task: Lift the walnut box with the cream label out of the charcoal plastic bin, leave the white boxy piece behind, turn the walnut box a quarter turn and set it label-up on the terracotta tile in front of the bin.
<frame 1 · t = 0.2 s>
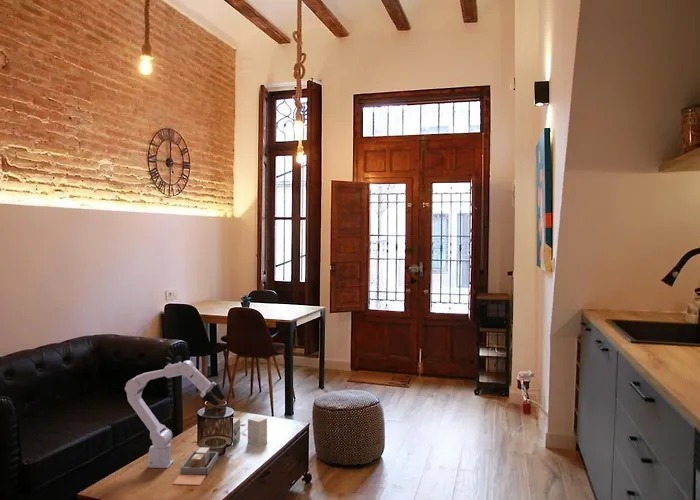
hand: (220, 401, 254), 31 cm above the table, tool tilted 45°, fingers open, 7 cm apart
white boxy piece: (202, 462, 260), resting in bin
small box: (257, 443, 284), on the table
walnut box: (197, 469, 252), resting in bin
ink box: (232, 442, 285), on the table
tile: (189, 480, 241), on the table
bin: (200, 465, 256), on the table
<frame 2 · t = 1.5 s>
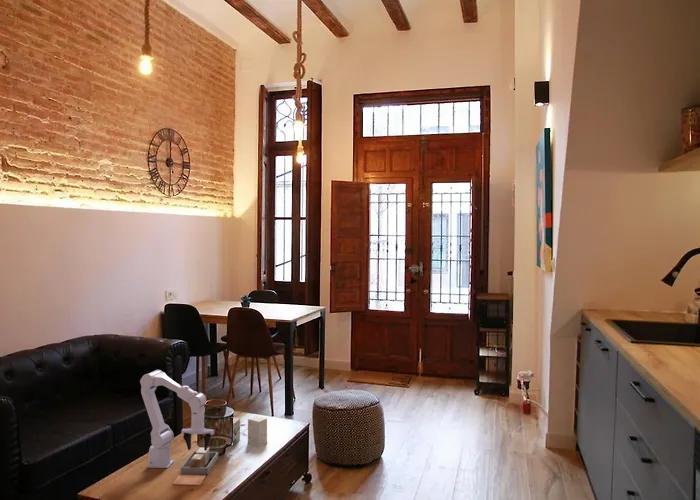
hand: (197, 449, 252), 9 cm above the table, tool pointing down, fingers open, 7 cm apart
nothing on the table moved.
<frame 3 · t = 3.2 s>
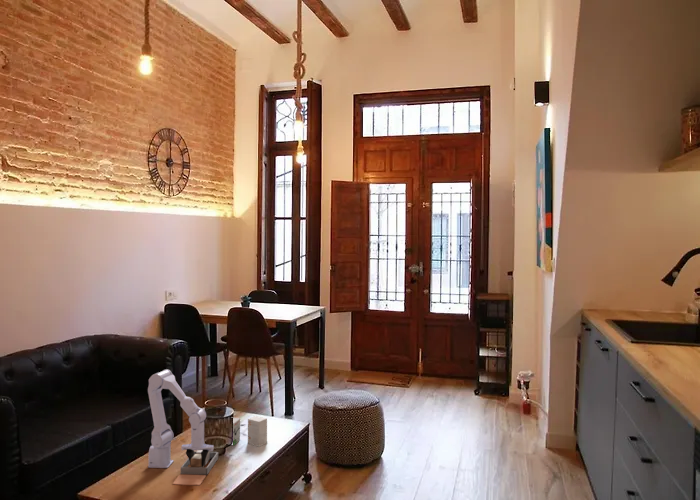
hand: (197, 465, 252), 2 cm above the table, tool pointing down, fingers closed on walnut box, 4 cm apart
walnut box: (197, 469, 252), resting in bin, touching gripper
everything else where it was.
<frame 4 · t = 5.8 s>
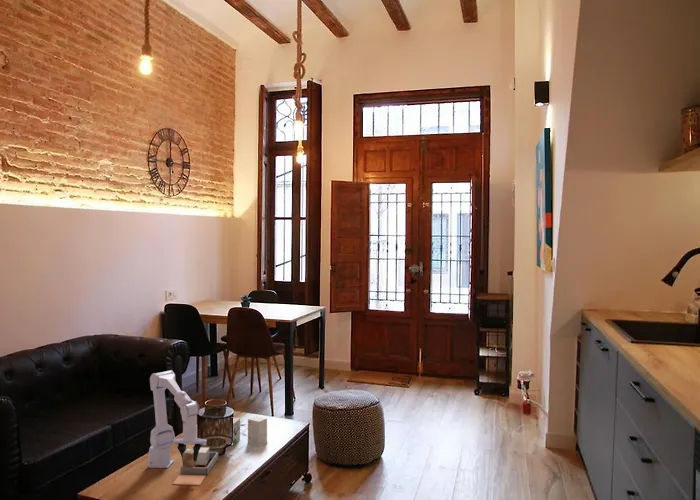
hand: (189, 460, 241), 9 cm above the table, tool pointing down, fingers closed on walnut box, 4 cm apart
walnut box: (189, 464, 241), point 7 cm above the table, touching gripper
everything else where it was.
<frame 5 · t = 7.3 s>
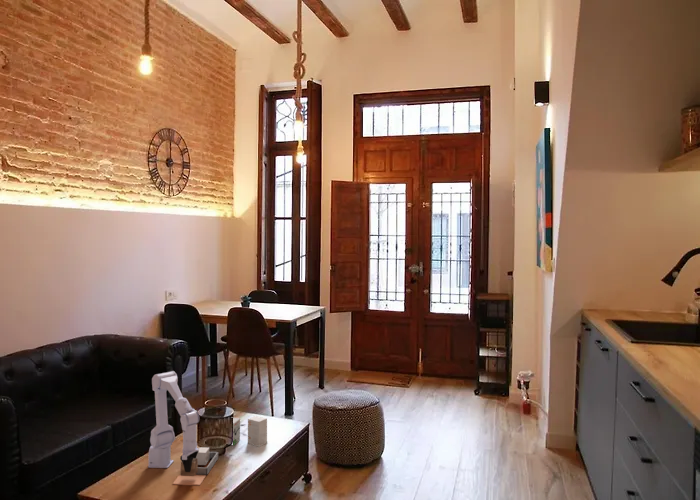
hand: (189, 469, 241), 5 cm above the table, tool pointing down, fingers closed on walnut box, 4 cm apart
walnut box: (189, 473, 241), point 3 cm above the table, touching gripper
everything else where it was.
when the fingers open (3 cm above the table, at t = 8.5 s): walnut box stays where it is, resting on tile.
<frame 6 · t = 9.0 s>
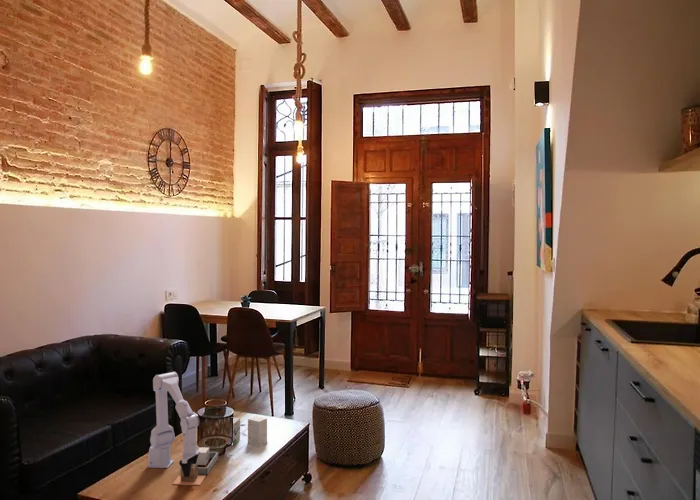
hand: (189, 472, 241), 3 cm above the table, tool pointing down, fingers open, 7 cm apart
walnut box: (189, 479, 241), resting on tile
everything else where it was.
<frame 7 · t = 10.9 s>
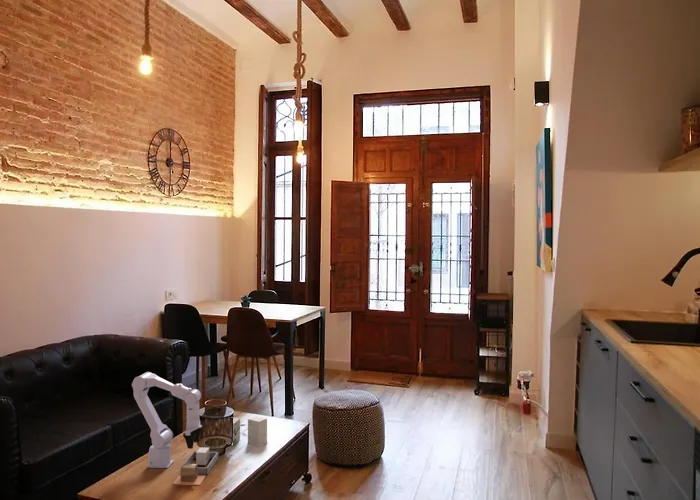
hand: (193, 445, 254), 10 cm above the table, tool pointing down, fingers open, 7 cm apart
nothing on the table moved.
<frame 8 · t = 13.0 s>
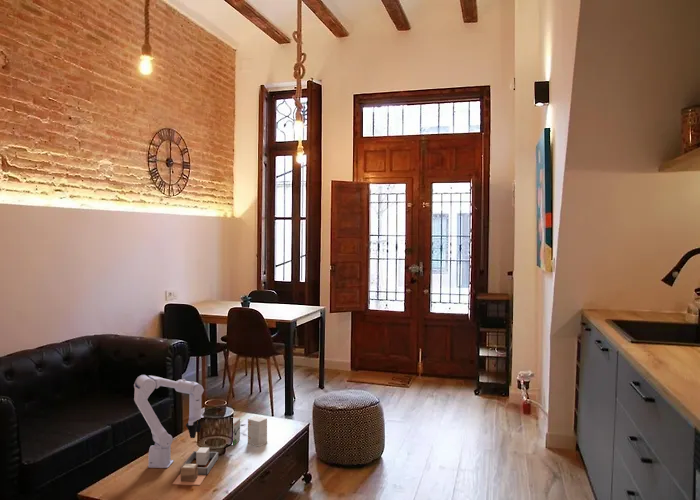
hand: (195, 434, 267), 10 cm above the table, tool pointing down, fingers open, 7 cm apart
nothing on the table moved.
at the end: walnut box 0.2 cm off-centre on the tile, point 0.4 cm above the tile's base; walnut box tilted 0°; the gripper is holding nothing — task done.
